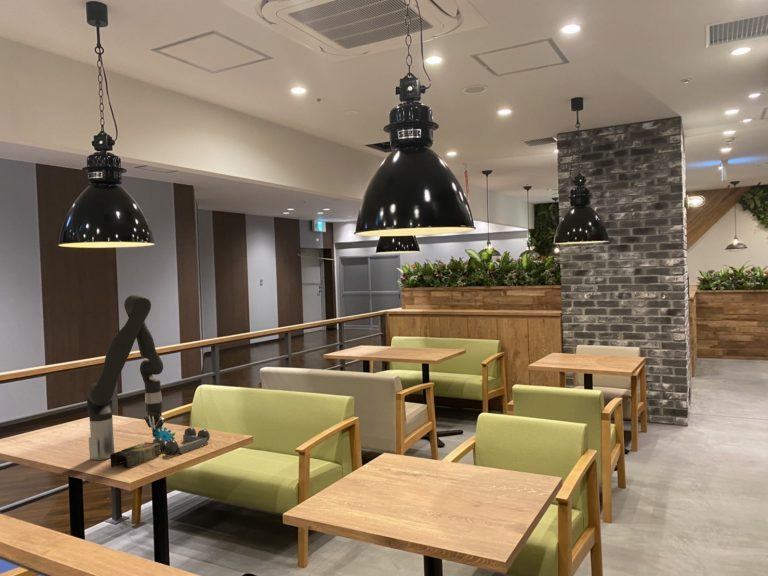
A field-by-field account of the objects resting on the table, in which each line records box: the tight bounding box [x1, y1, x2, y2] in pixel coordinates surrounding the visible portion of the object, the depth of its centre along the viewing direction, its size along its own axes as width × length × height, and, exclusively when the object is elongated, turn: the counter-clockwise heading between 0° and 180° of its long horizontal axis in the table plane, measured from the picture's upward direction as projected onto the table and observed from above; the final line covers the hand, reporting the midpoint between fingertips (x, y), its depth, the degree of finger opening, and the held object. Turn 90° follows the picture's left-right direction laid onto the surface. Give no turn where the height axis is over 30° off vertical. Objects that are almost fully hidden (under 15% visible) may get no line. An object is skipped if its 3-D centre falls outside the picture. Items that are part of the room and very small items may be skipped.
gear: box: [154, 426, 176, 444], centre depth 277 cm, size 11×6×10 cm
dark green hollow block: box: [110, 441, 162, 469], centre depth 253 cm, size 20×10×6 cm, turn 156°
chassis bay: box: [152, 426, 211, 455], centre depth 270 cm, size 20×16×6 cm
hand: (155, 436), depth 280 cm, fingers closed
